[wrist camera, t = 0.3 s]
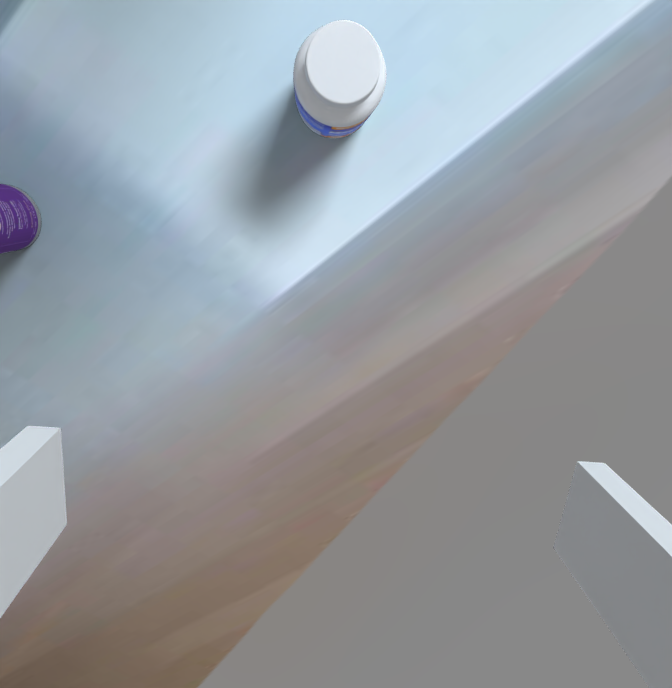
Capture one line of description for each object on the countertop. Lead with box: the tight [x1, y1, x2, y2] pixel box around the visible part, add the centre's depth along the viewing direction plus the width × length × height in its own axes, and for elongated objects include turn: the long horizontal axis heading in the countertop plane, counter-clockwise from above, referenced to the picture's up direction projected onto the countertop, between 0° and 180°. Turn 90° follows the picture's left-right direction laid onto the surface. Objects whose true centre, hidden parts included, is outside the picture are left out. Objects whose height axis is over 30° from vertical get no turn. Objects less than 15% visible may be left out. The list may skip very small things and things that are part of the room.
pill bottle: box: [293, 20, 386, 138], centre depth 31 cm, size 6×5×10 cm
